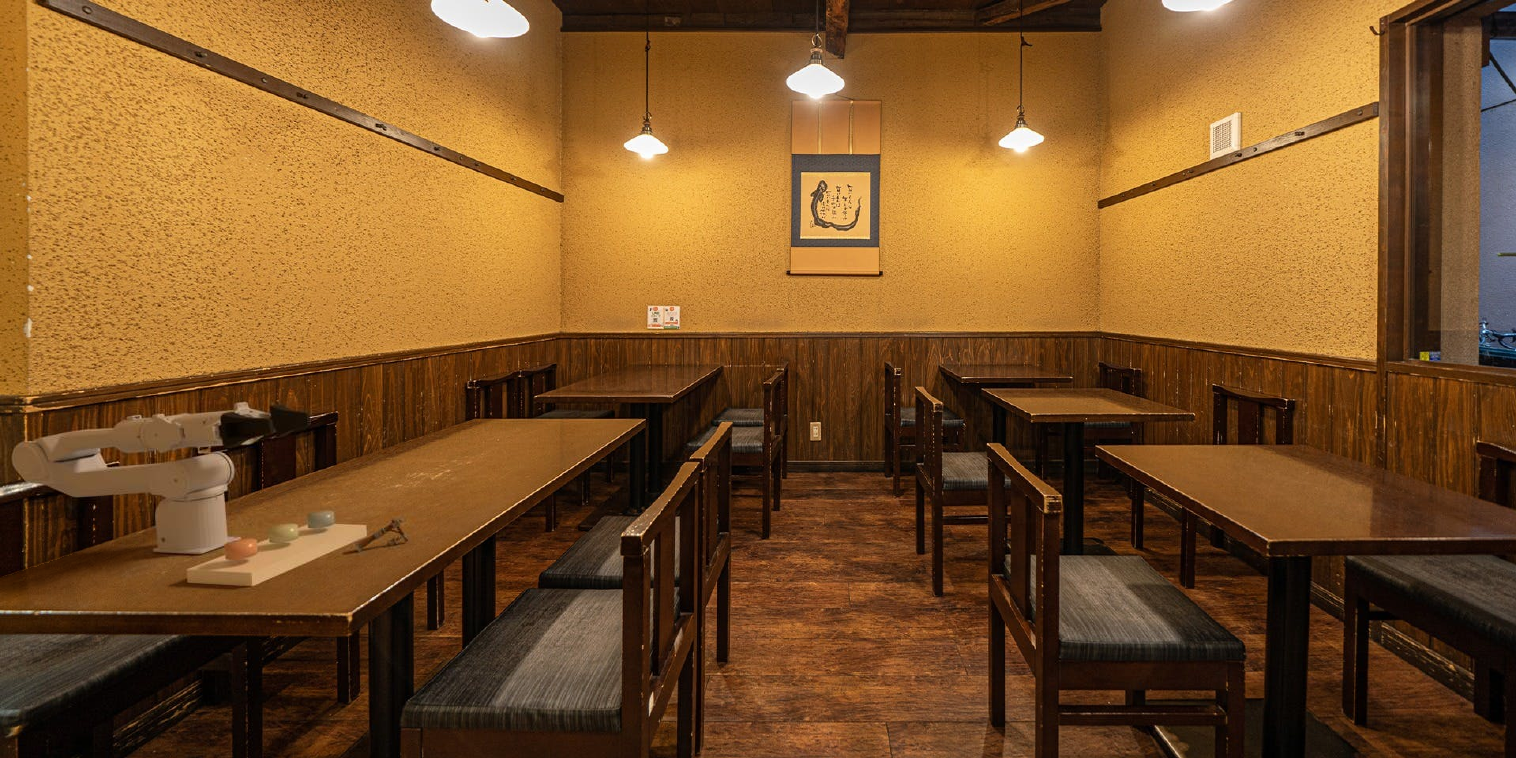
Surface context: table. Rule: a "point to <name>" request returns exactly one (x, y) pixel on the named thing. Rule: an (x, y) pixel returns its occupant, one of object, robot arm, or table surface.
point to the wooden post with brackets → (394, 524)
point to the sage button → (283, 533)
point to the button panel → (276, 556)
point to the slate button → (320, 519)
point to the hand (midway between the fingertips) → (290, 422)
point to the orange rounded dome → (240, 549)
